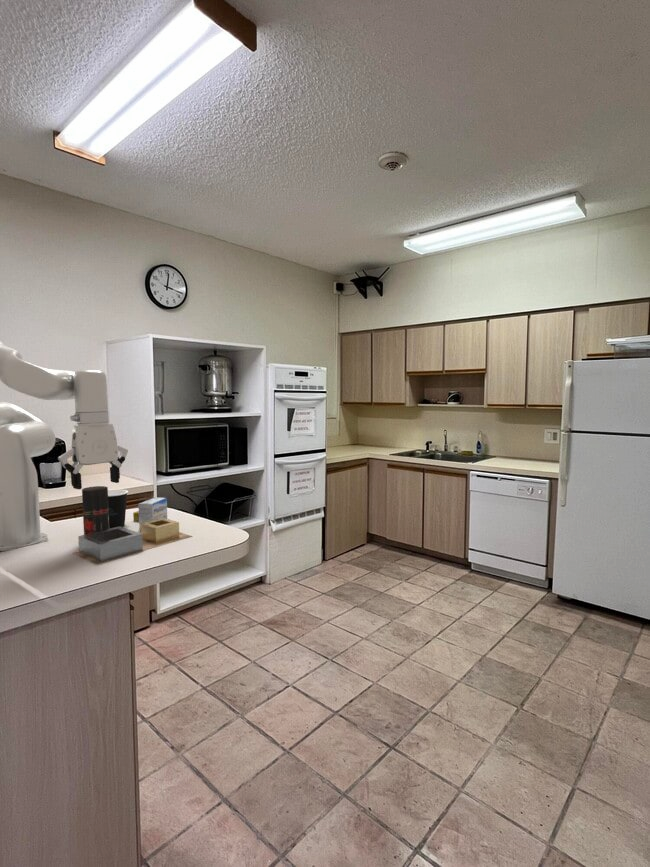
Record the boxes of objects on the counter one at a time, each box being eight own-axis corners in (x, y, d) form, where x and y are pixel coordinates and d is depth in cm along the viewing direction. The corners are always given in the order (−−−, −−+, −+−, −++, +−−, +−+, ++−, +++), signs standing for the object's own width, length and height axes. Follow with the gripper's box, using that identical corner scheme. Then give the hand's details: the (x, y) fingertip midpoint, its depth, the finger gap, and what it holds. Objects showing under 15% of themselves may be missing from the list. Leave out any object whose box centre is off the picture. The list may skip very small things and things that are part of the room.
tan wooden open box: (141, 538, 124) (140, 523, 124) (164, 532, 130) (163, 517, 129) (156, 543, 120) (155, 528, 120) (179, 536, 125) (178, 522, 125)
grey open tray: (79, 552, 113) (78, 536, 113) (120, 541, 122) (119, 526, 121) (100, 561, 107) (99, 544, 107) (142, 549, 115) (142, 533, 115)
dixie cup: (124, 523, 141) (123, 488, 140) (132, 530, 135) (131, 492, 134) (96, 528, 136) (94, 491, 135) (103, 535, 130) (101, 496, 129)
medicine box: (153, 534, 131) (152, 503, 131) (138, 533, 132) (137, 503, 131) (168, 526, 139) (167, 497, 138) (154, 525, 140) (153, 496, 139)
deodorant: (113, 545, 122) (111, 488, 120) (89, 550, 117) (86, 492, 116) (105, 540, 126) (102, 485, 124) (81, 545, 122) (78, 488, 120)
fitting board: (72, 557, 113) (72, 553, 113) (166, 531, 133) (166, 528, 133) (97, 568, 106) (96, 564, 105) (192, 539, 126) (192, 536, 126)
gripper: (63, 421, 110) (68, 493, 111) (132, 417, 123) (135, 481, 125) (49, 420, 114) (54, 489, 116) (117, 417, 128) (121, 478, 129)
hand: (96, 485), depth 120 cm, fingers open, 9 cm apart
